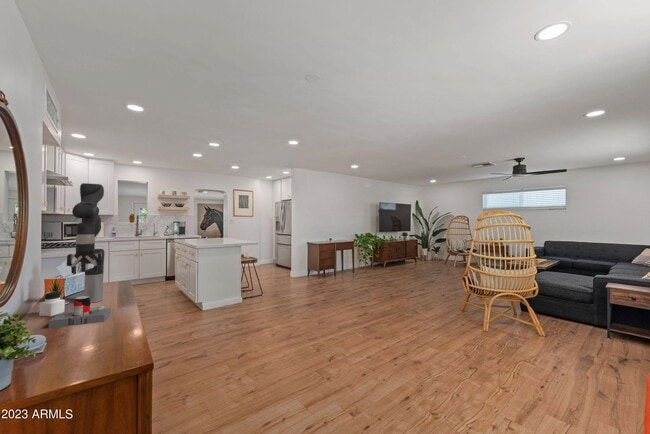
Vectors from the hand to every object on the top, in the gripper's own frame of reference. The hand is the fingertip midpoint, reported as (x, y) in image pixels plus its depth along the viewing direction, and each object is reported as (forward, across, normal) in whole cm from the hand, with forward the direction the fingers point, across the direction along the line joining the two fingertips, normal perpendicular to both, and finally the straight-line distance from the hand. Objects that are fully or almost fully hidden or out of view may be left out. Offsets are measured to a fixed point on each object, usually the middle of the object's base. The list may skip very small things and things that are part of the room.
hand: (84, 273), depth 144 cm
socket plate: (+23, -1, +6) cm, 24 cm away
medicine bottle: (+24, +18, -14) cm, 33 cm away
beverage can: (+24, -1, +6) cm, 24 cm away
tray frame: (+24, +1, -7) cm, 25 cm away
